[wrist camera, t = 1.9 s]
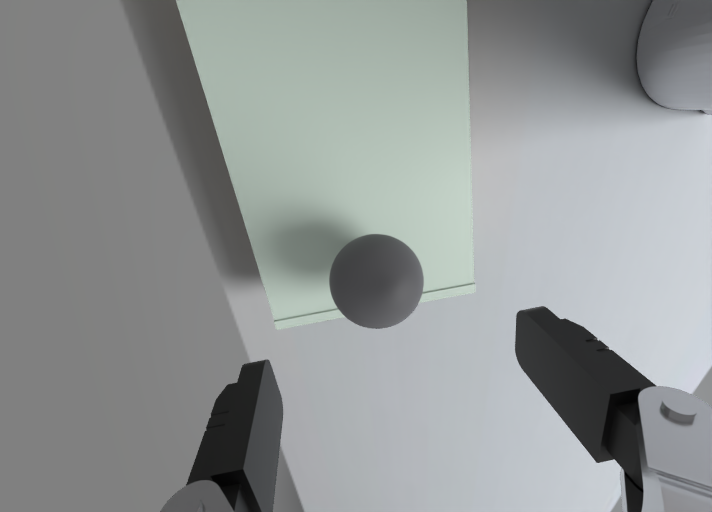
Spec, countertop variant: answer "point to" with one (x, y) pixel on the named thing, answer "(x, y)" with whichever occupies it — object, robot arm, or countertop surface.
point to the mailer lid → (344, 148)
